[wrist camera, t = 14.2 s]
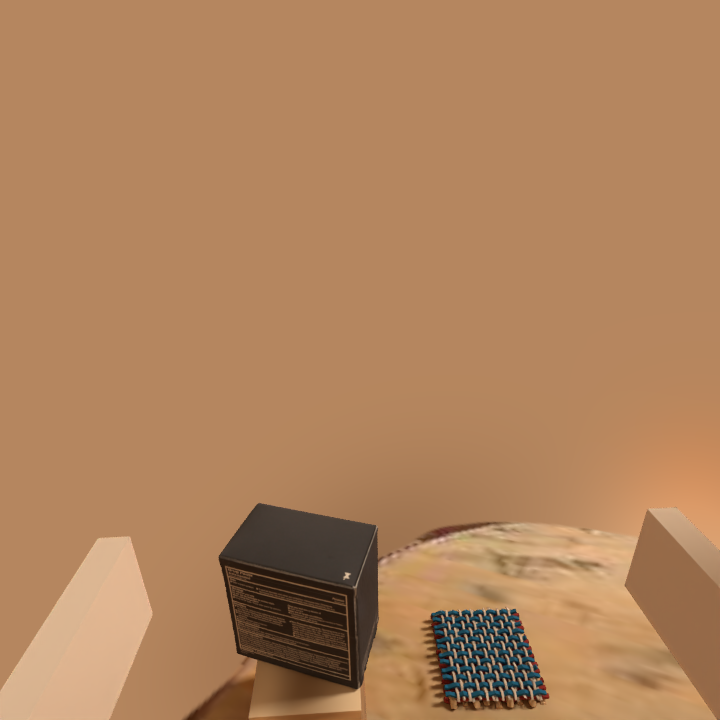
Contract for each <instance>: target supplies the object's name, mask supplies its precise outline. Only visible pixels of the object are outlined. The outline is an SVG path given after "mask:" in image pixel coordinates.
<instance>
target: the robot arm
mask: <svg viewBox="0 0 720 720" xmlns="http://www.w3.org/2000/svg"><path fill="white" fill-rule="evenodd" d="M625 587H626V588H627V590H628V591H629V592H630V594H631V595H632V597H633V598H634V600H635V601H636V603H637V604H638V606H639V607H640V608H641V610H642V611H643V613H644V614H645V616H646V617H647V619H648V620H649V621H650V623H651V624H652V626H653V627H654V629H655V630H656V632H657V633H658V634H659V636H660V637H661V639H662V640H663V642H664V643H665V645H666V646H667V647H668V649H669V650H670V652H671V653H672V655H673V656H674V658H675V659H676V660H677V662H678V663H679V665H680V666H681V668H682V669H683V671H684V672H685V673H686V675H687V676H688V678H689V679H690V681H691V682H692V684H693V685H694V687H695V688H696V689H697V691H698V692H699V694H700V695H701V697H702V698H703V700H704V701H705V702H706V704H707V705H708V707H709V708H710V710H711V711H712V713H713V714H714V715H715V717H716V718H717V720H720V550H718V549H717V547H716V546H715V545H714V544H713V543H711V541H709V539H708V538H707V537H706V536H705V535H704V534H703V533H702V532H701V531H699V530H698V528H696V527H695V525H693V523H692V522H690V521H689V519H687V517H686V516H685V515H684V514H683V513H681V511H680V510H679V509H678V508H676V507H674V508H654V509H647V512H646V515H645V519H644V523H643V526H642V529H641V532H640V536H639V539H638V542H637V546H636V549H635V553H634V556H633V559H632V563H631V566H630V569H629V573H628V576H627V579H626V583H625ZM152 614H153V613H152V610H151V606H150V603H149V600H148V596H147V593H146V590H145V586H144V583H143V579H142V576H141V573H140V570H139V566H138V563H137V559H136V556H135V552H134V549H133V546H132V542H131V539H130V537H112V538H98V539H97V541H96V542H95V544H94V546H93V547H92V549H91V550H90V552H89V553H88V555H87V557H86V558H85V560H84V561H83V563H82V564H81V566H80V567H79V569H78V571H77V572H76V574H75V575H74V577H73V578H72V580H71V581H70V583H69V585H68V586H67V588H66V589H65V591H64V592H63V594H62V596H61V597H60V599H59V600H58V602H57V603H56V605H55V607H54V608H53V610H52V611H51V613H50V614H49V616H48V618H47V619H46V621H45V622H44V624H43V625H42V627H41V628H40V630H39V632H38V633H37V635H36V636H35V638H34V639H33V641H32V642H31V644H30V646H29V647H28V649H27V650H26V652H25V654H24V655H23V656H22V658H21V660H20V661H19V663H18V664H17V666H16V667H15V669H14V670H13V672H12V674H11V675H10V677H9V678H8V680H7V682H6V683H5V685H4V686H3V688H2V689H1V691H0V720H109V719H110V717H111V714H112V712H113V710H114V707H115V705H116V702H117V700H118V697H119V695H120V692H121V690H122V687H123V685H124V683H125V680H126V678H127V675H128V673H129V670H130V668H131V666H132V663H133V661H134V658H135V656H136V653H137V651H138V648H139V646H140V643H141V641H142V639H143V636H144V634H145V631H146V629H147V627H148V624H149V622H150V619H151V617H152Z"/></svg>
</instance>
